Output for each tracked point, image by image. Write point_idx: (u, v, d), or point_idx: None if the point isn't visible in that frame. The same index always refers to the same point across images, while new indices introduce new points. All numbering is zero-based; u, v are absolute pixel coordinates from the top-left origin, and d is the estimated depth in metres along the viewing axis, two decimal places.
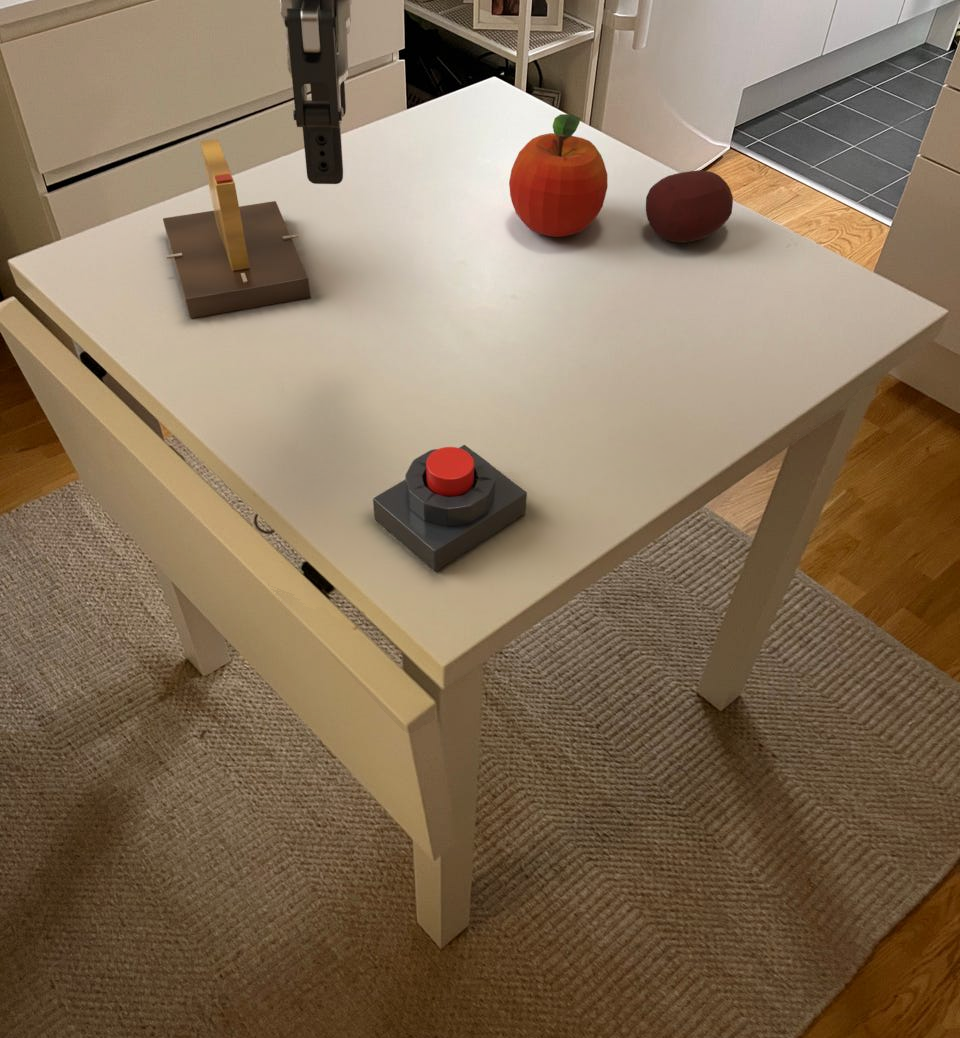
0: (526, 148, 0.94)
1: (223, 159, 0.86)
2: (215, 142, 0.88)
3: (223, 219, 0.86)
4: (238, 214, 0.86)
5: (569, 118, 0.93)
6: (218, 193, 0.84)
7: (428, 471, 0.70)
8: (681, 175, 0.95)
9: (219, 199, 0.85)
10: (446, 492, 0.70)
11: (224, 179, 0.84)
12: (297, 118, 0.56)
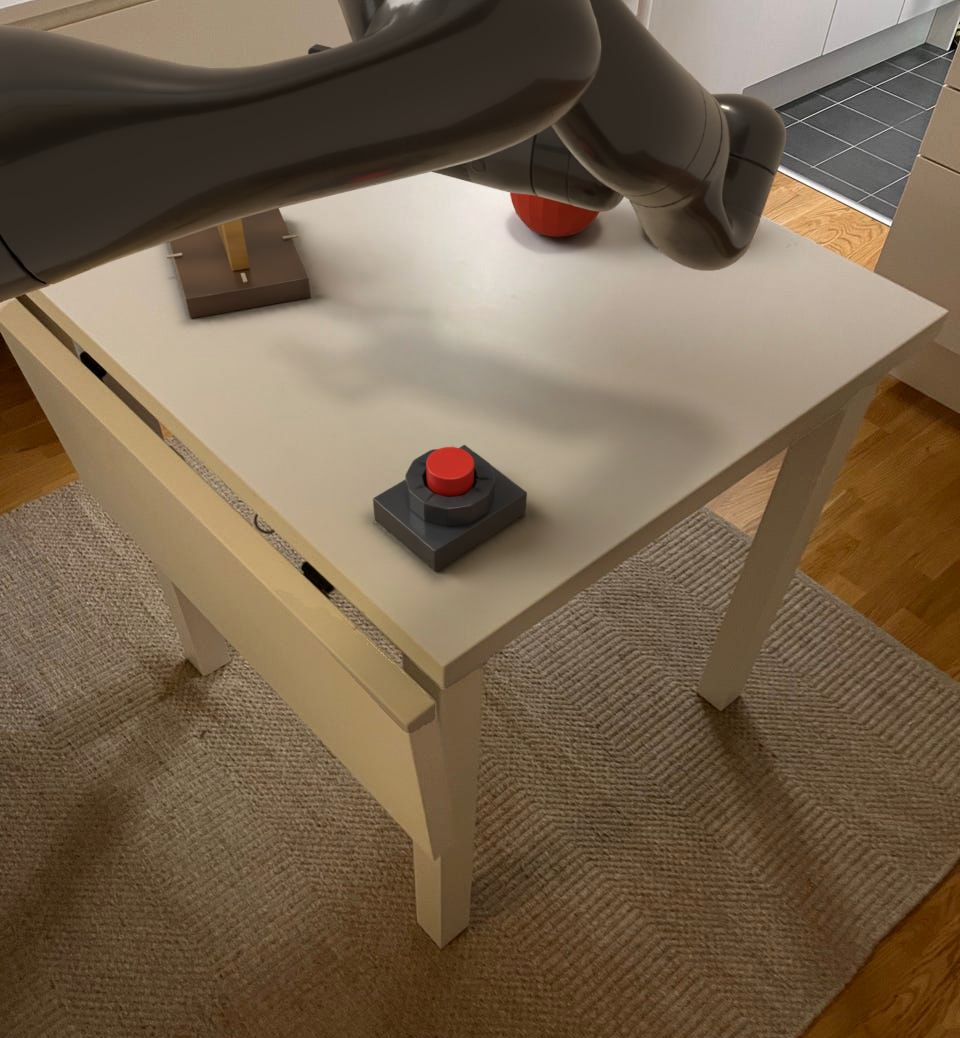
0: None
1: None
2: None
3: None
4: None
5: None
6: None
7: (428, 471, 0.70)
8: None
9: None
10: (446, 492, 0.70)
11: None
12: None
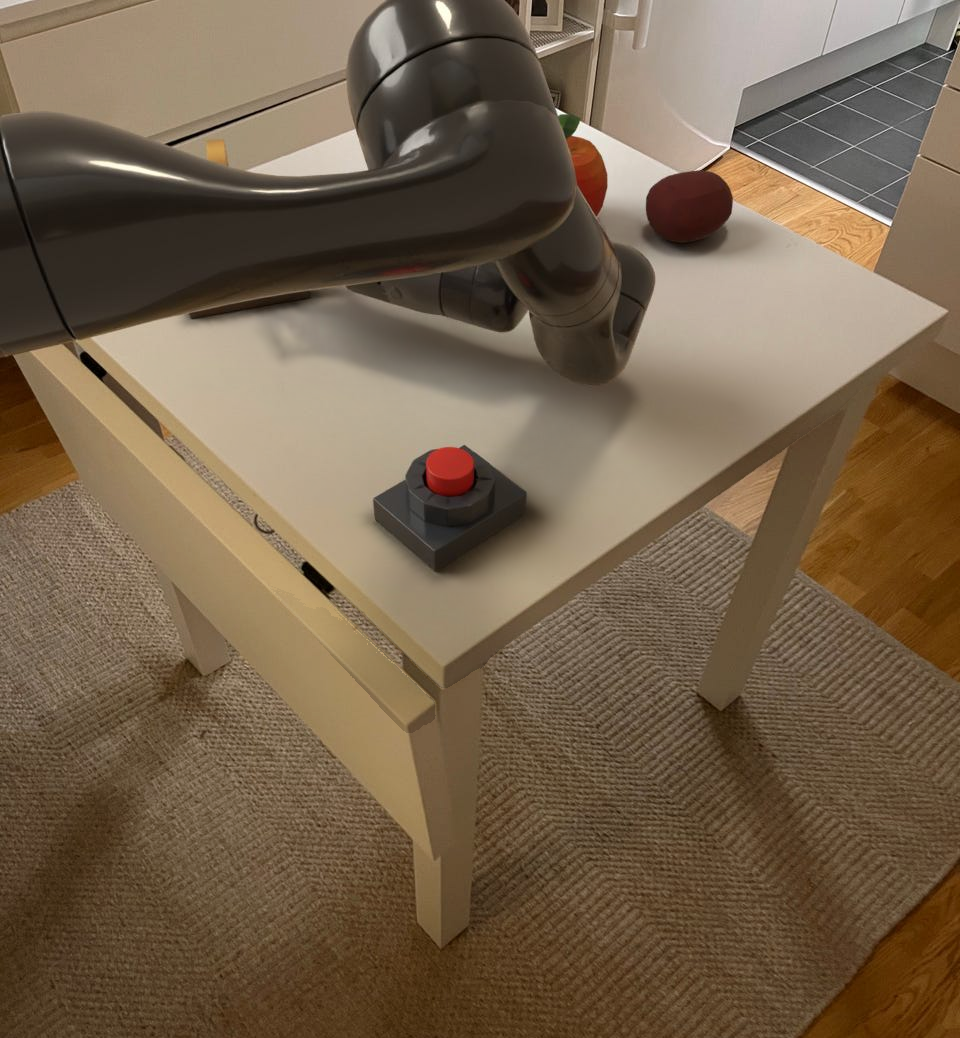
0: None
1: (223, 159, 0.86)
2: (219, 142, 0.88)
3: None
4: None
5: (569, 118, 0.93)
6: None
7: (428, 471, 0.70)
8: (681, 175, 0.95)
9: None
10: (446, 492, 0.70)
11: None
12: None
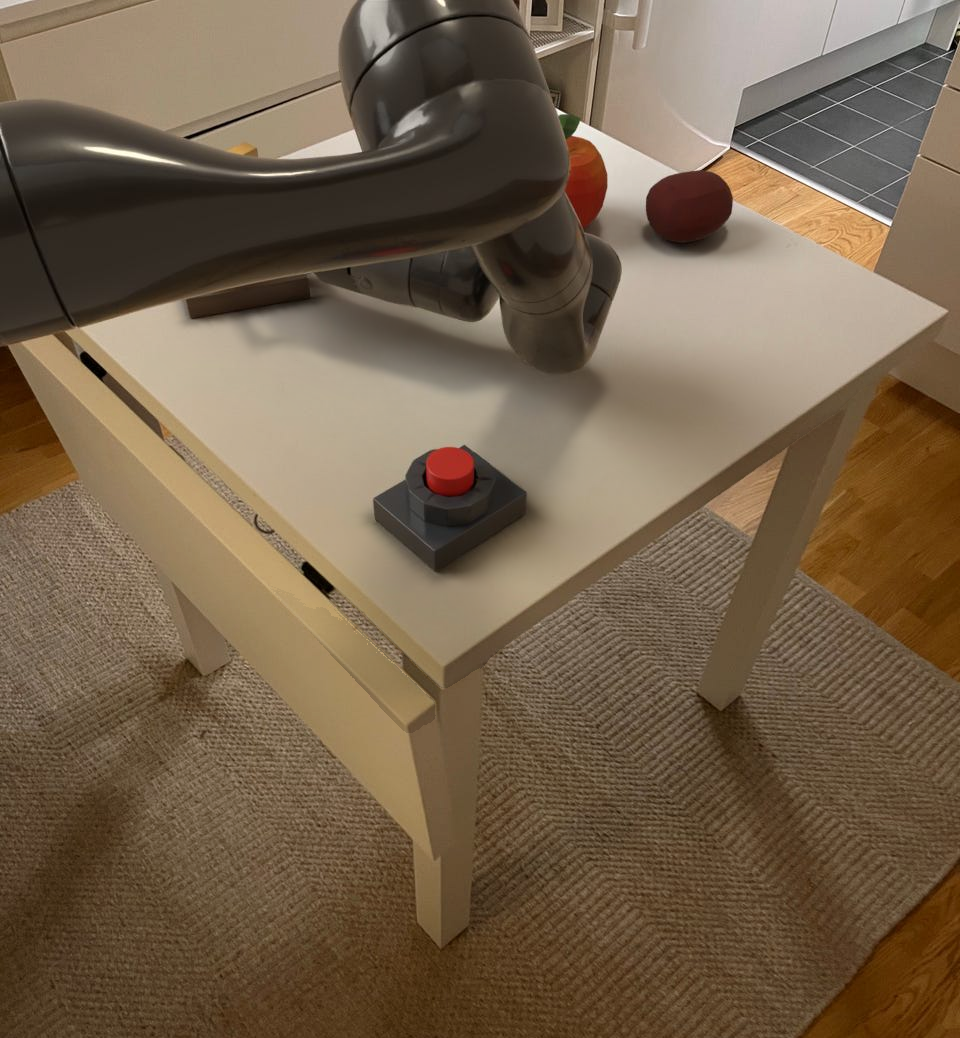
0: None
1: None
2: (248, 148, 0.88)
3: None
4: None
5: (569, 118, 0.93)
6: None
7: (428, 471, 0.70)
8: (681, 175, 0.95)
9: None
10: (446, 492, 0.70)
11: None
12: None
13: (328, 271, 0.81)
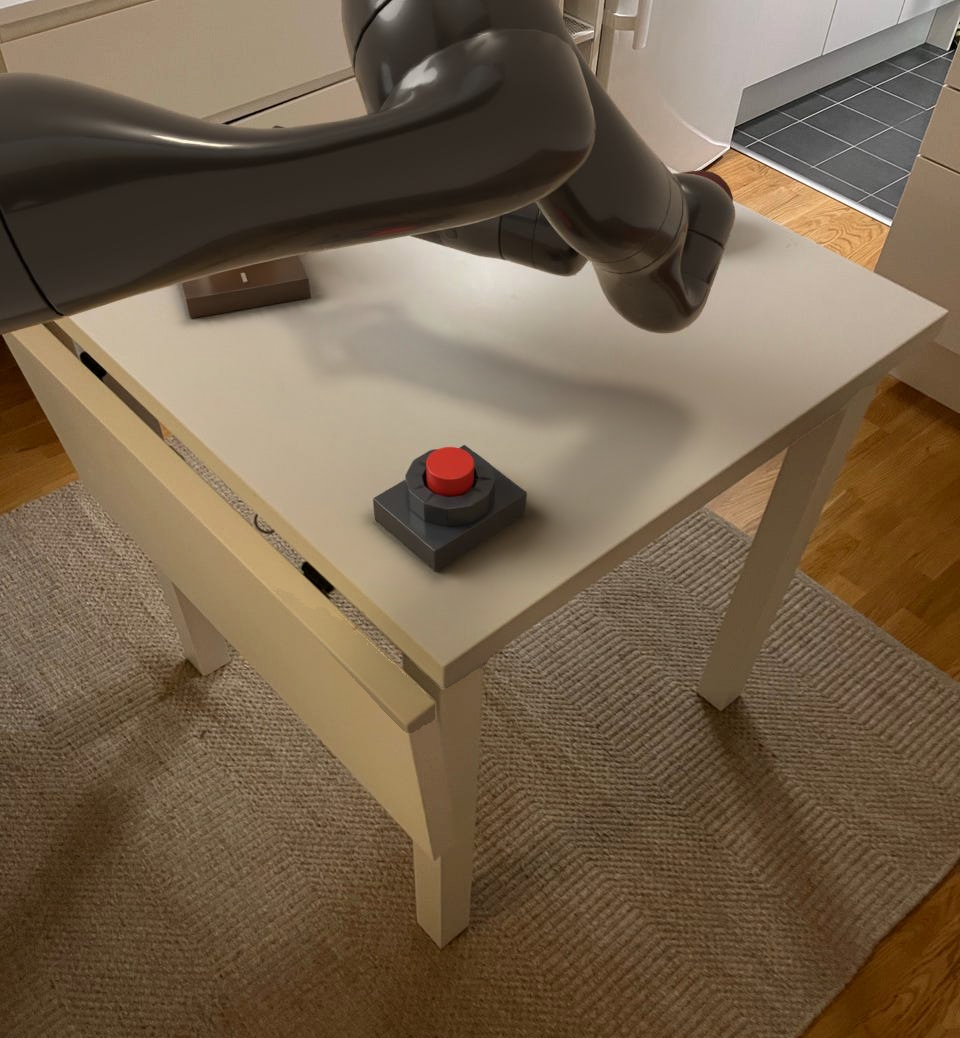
0: None
1: None
2: None
3: None
4: None
5: None
6: None
7: (428, 471, 0.70)
8: None
9: None
10: (446, 492, 0.70)
11: None
12: None
13: None
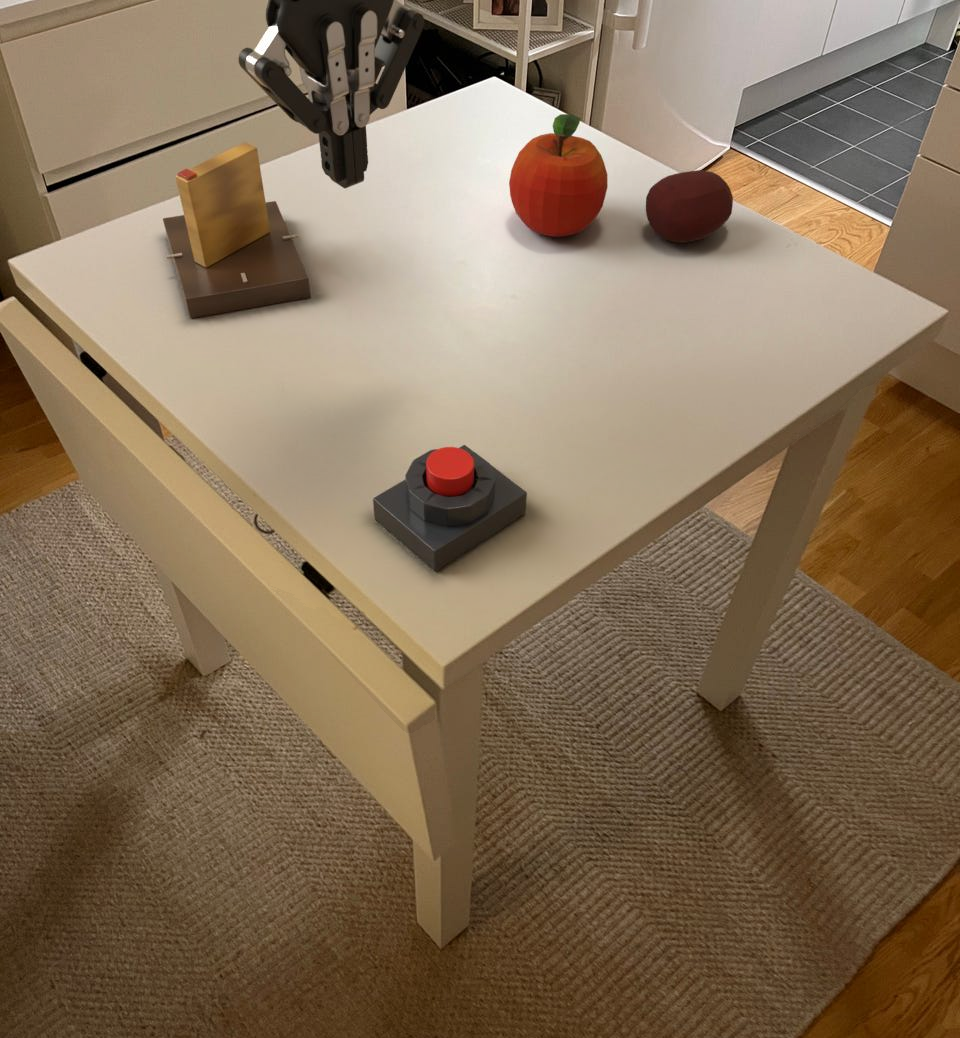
0: (526, 148, 0.94)
1: (222, 162, 0.86)
2: (248, 148, 0.88)
3: (183, 210, 0.87)
4: (193, 213, 0.86)
5: (569, 118, 0.93)
6: (177, 184, 0.85)
7: (428, 471, 0.70)
8: (681, 175, 0.95)
9: (179, 190, 0.85)
10: (446, 492, 0.70)
11: (184, 174, 0.84)
12: (290, 117, 0.63)
13: None
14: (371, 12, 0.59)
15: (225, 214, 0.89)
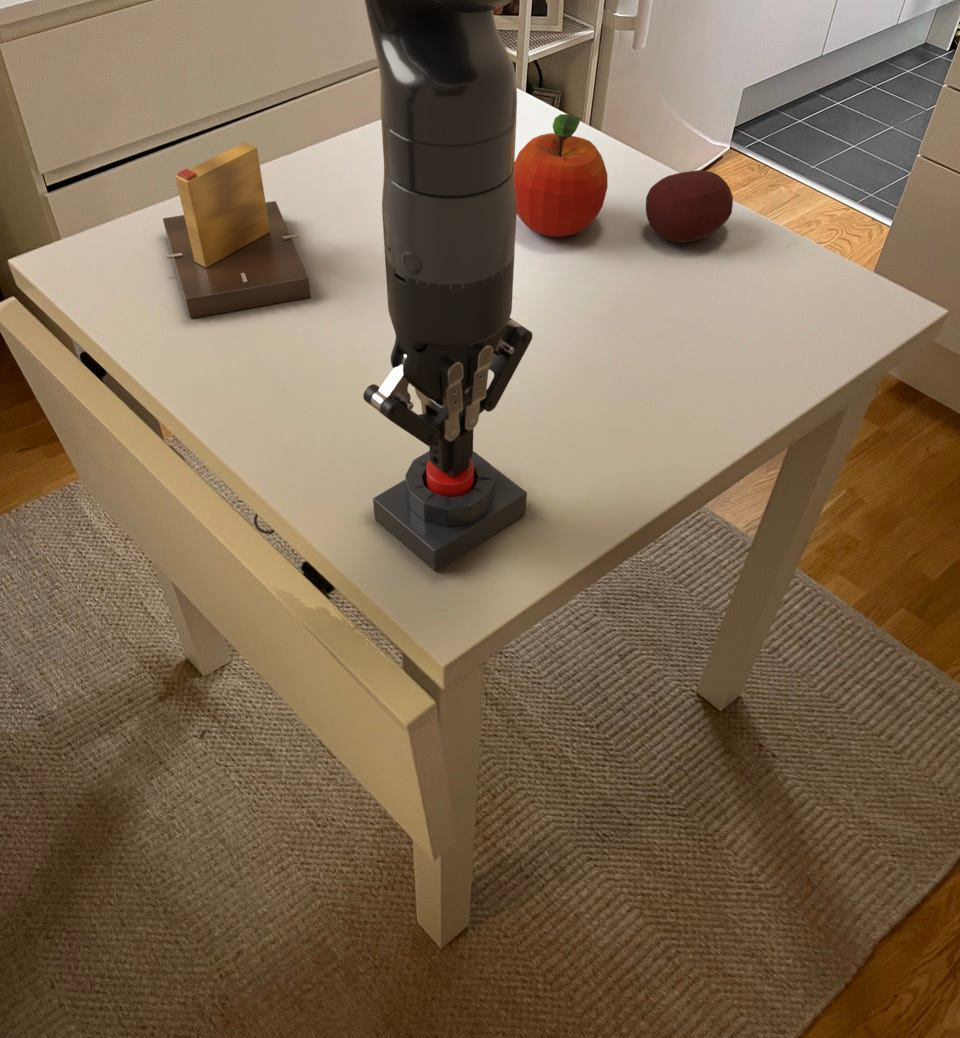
0: (526, 148, 0.94)
1: (222, 162, 0.86)
2: (248, 148, 0.88)
3: (183, 210, 0.87)
4: (193, 213, 0.86)
5: (569, 118, 0.93)
6: (177, 184, 0.85)
7: (428, 476, 0.70)
8: (681, 175, 0.95)
9: (179, 190, 0.85)
10: None
11: (184, 174, 0.84)
12: None
13: (410, 314, 0.57)
14: (488, 347, 0.62)
15: (225, 214, 0.89)
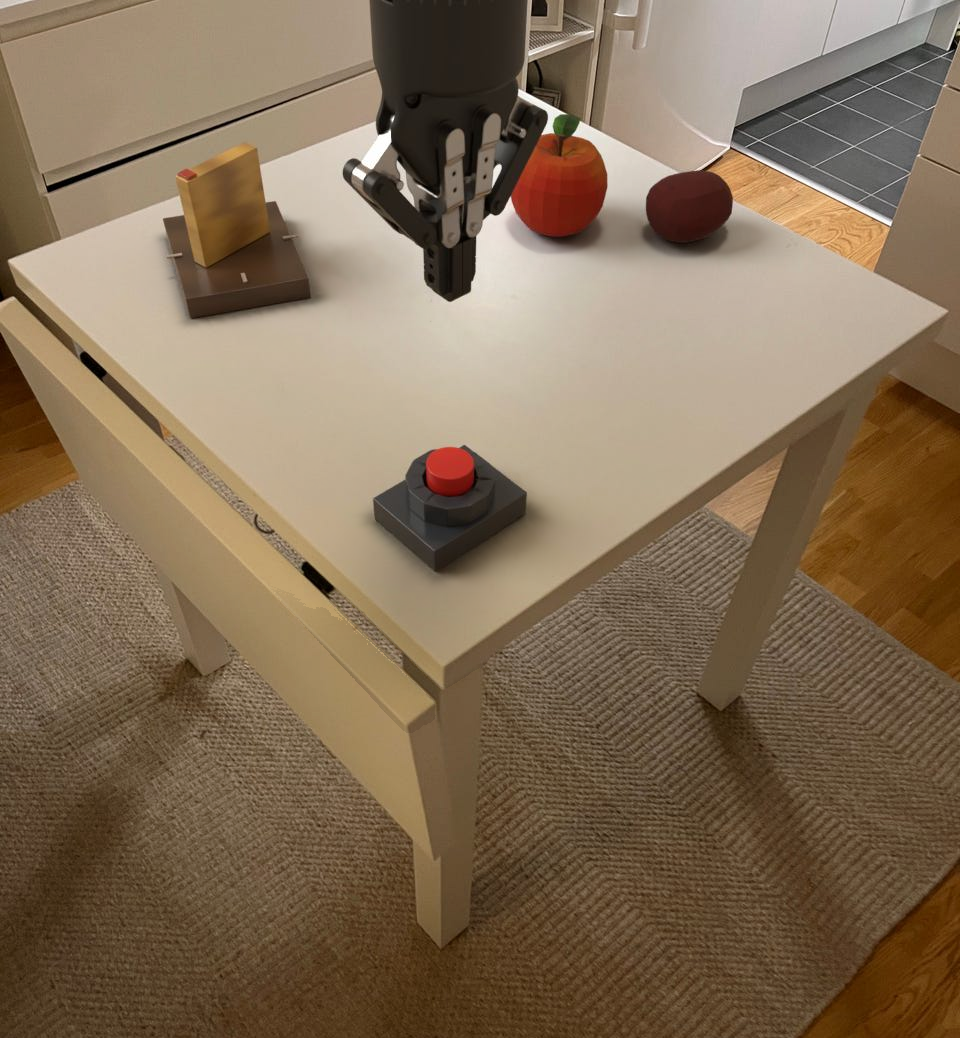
0: None
1: (222, 162, 0.86)
2: (248, 148, 0.88)
3: (183, 210, 0.87)
4: (193, 213, 0.86)
5: (569, 118, 0.93)
6: (177, 184, 0.85)
7: (428, 471, 0.70)
8: (681, 175, 0.95)
9: (179, 190, 0.85)
10: (446, 492, 0.70)
11: (184, 174, 0.84)
12: None
13: (399, 50, 0.46)
14: (495, 115, 0.51)
15: (225, 214, 0.89)
